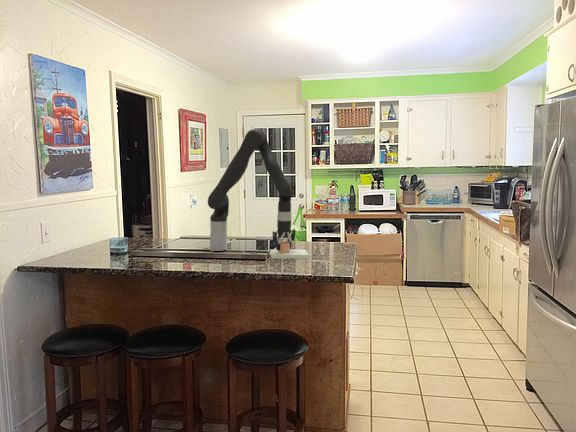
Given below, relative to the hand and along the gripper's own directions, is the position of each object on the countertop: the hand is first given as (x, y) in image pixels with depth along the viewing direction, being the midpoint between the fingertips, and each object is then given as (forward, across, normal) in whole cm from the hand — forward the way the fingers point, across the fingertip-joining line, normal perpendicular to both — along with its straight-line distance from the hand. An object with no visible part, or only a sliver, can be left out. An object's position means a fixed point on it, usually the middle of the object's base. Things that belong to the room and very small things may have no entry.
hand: (283, 249), depth 262 cm
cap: (+1, 0, 0) cm, 1 cm away
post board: (+4, +2, -2) cm, 5 cm away
